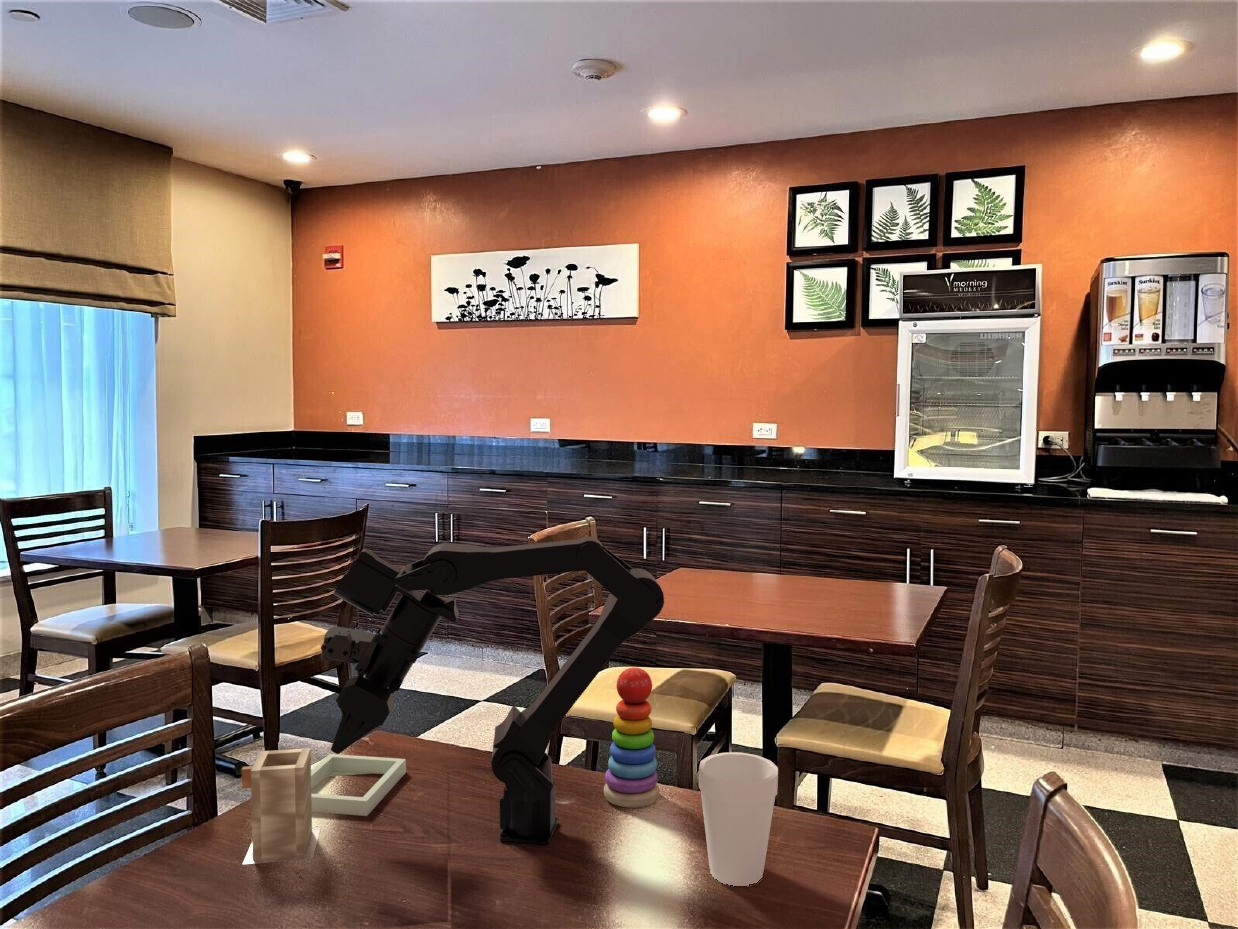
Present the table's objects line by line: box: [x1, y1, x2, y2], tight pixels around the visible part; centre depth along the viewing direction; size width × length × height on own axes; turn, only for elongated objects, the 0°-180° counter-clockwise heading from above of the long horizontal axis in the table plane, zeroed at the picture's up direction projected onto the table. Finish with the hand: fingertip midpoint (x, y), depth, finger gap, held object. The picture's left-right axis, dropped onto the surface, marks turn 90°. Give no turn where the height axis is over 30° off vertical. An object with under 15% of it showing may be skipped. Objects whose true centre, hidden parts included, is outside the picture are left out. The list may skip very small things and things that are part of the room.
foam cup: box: [698, 752, 779, 887], centre depth 107 cm, size 10×9×13 cm
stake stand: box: [241, 826, 322, 866], centre depth 111 cm, size 8×8×4 cm
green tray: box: [311, 753, 407, 817], centre depth 127 cm, size 12×14×3 cm
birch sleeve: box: [241, 747, 313, 859], centre depth 111 cm, size 8×6×11 cm
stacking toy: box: [603, 667, 661, 809], centre depth 127 cm, size 8×8×19 cm
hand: (342, 737), depth 114 cm, fingers open, 9 cm apart
